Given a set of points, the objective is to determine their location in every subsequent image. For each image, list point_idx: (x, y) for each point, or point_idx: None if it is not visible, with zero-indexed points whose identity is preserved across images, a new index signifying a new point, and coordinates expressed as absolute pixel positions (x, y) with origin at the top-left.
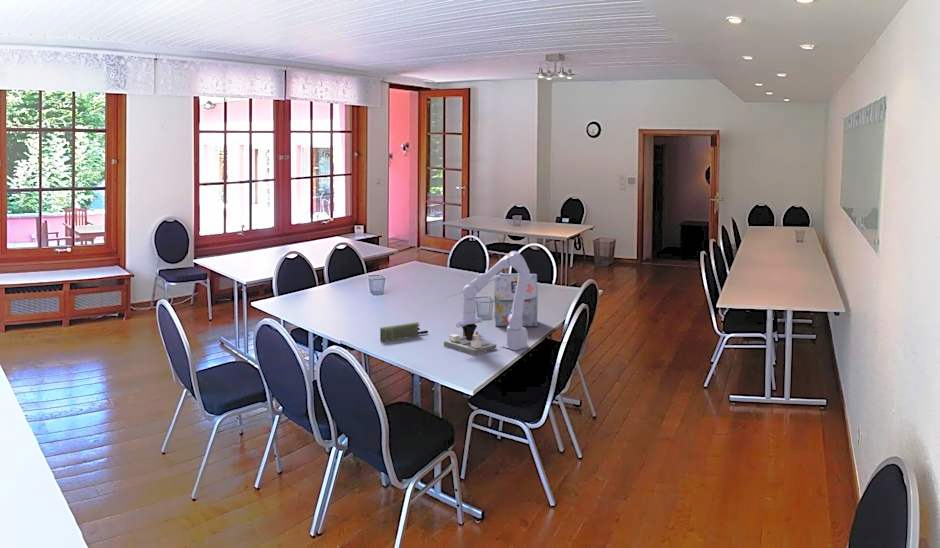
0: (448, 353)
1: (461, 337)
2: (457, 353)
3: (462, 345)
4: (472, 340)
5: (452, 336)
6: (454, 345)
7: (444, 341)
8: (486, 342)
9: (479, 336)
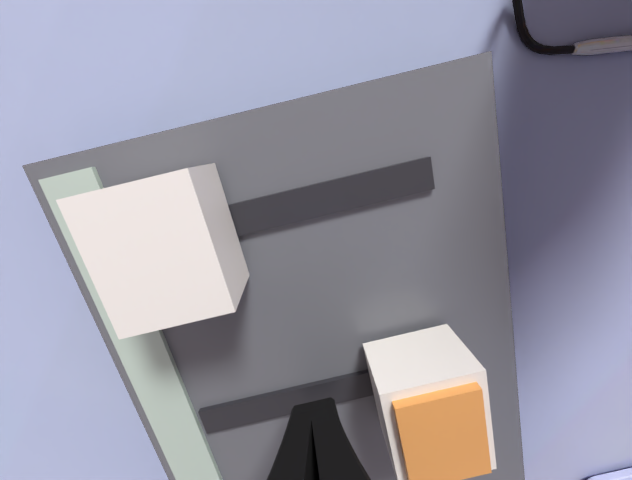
0: (25, 433)
1: (383, 96)
2: (114, 465)
3: (190, 448)
4: (376, 403)
5: (97, 276)
6: (122, 364)
7: (33, 167)
8: (505, 443)
9: (489, 466)
